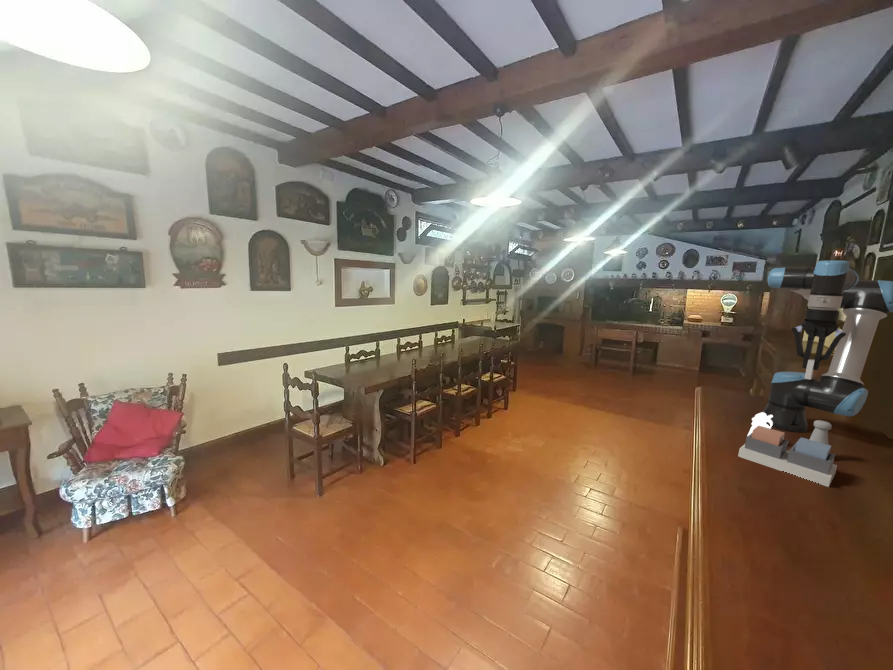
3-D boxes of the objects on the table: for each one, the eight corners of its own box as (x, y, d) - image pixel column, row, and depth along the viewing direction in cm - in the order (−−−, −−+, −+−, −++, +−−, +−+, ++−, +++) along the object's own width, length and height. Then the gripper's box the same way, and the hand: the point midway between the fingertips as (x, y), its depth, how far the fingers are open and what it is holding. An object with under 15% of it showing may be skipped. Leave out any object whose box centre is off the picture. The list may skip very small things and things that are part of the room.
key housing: (749, 446, 134) (752, 428, 132) (835, 473, 116) (840, 453, 115) (738, 456, 126) (741, 437, 125) (828, 487, 109) (833, 465, 107)
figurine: (752, 437, 142) (757, 408, 140) (774, 445, 136) (780, 414, 134) (742, 440, 139) (747, 410, 137) (764, 448, 133) (770, 417, 131)
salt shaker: (832, 461, 125) (840, 425, 122) (812, 459, 126) (820, 423, 124) (818, 453, 130) (826, 419, 128) (800, 451, 131) (807, 417, 129)
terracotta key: (756, 438, 129) (758, 425, 129) (782, 446, 124) (784, 432, 123) (750, 443, 125) (752, 430, 124) (776, 451, 120) (779, 437, 119)
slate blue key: (797, 451, 121) (801, 437, 120) (827, 460, 115) (831, 445, 115) (793, 457, 117) (796, 442, 116) (824, 466, 111) (827, 451, 110)
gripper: (793, 307, 121) (779, 375, 125) (850, 311, 111) (834, 385, 115) (798, 306, 126) (785, 372, 130) (853, 310, 116) (837, 381, 119)
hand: (808, 378), depth 122 cm, fingers closed
